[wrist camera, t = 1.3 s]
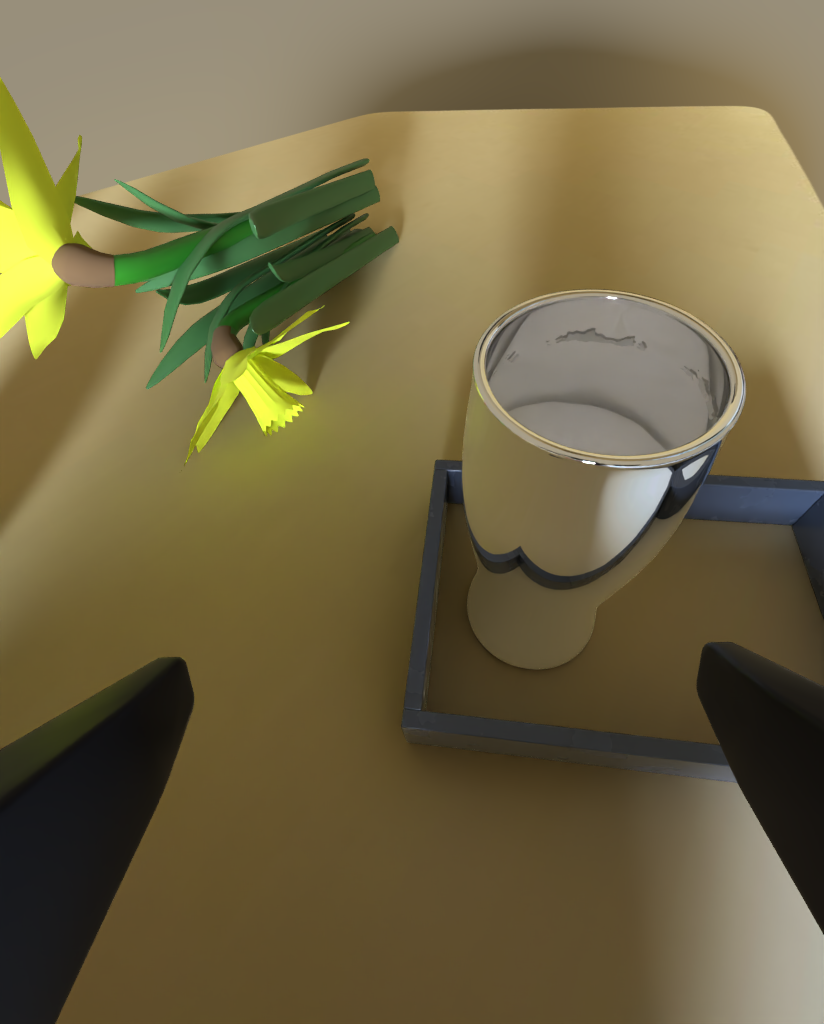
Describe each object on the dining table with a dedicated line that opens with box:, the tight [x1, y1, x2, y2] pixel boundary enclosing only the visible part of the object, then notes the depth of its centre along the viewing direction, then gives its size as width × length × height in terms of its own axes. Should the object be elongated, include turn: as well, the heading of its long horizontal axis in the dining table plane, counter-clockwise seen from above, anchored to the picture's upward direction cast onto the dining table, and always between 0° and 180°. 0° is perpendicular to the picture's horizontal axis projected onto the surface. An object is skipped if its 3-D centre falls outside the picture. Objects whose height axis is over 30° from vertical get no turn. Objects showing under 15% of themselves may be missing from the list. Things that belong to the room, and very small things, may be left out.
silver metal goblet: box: [462, 289, 746, 670], centre depth 19 cm, size 7×7×15 cm
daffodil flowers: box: [0, 78, 399, 471], centre depth 32 cm, size 17×15×35 cm
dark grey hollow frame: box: [401, 460, 824, 783], centre depth 23 cm, size 13×19×3 cm
